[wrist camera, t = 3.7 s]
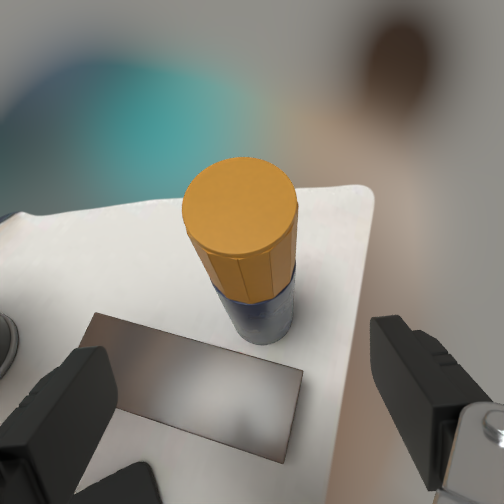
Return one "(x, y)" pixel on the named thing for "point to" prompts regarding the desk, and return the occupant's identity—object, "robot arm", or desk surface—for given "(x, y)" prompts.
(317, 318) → the desk surface
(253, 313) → the flask
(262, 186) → the cap
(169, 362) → the small brown bench
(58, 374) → the robot arm
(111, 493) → the phone
